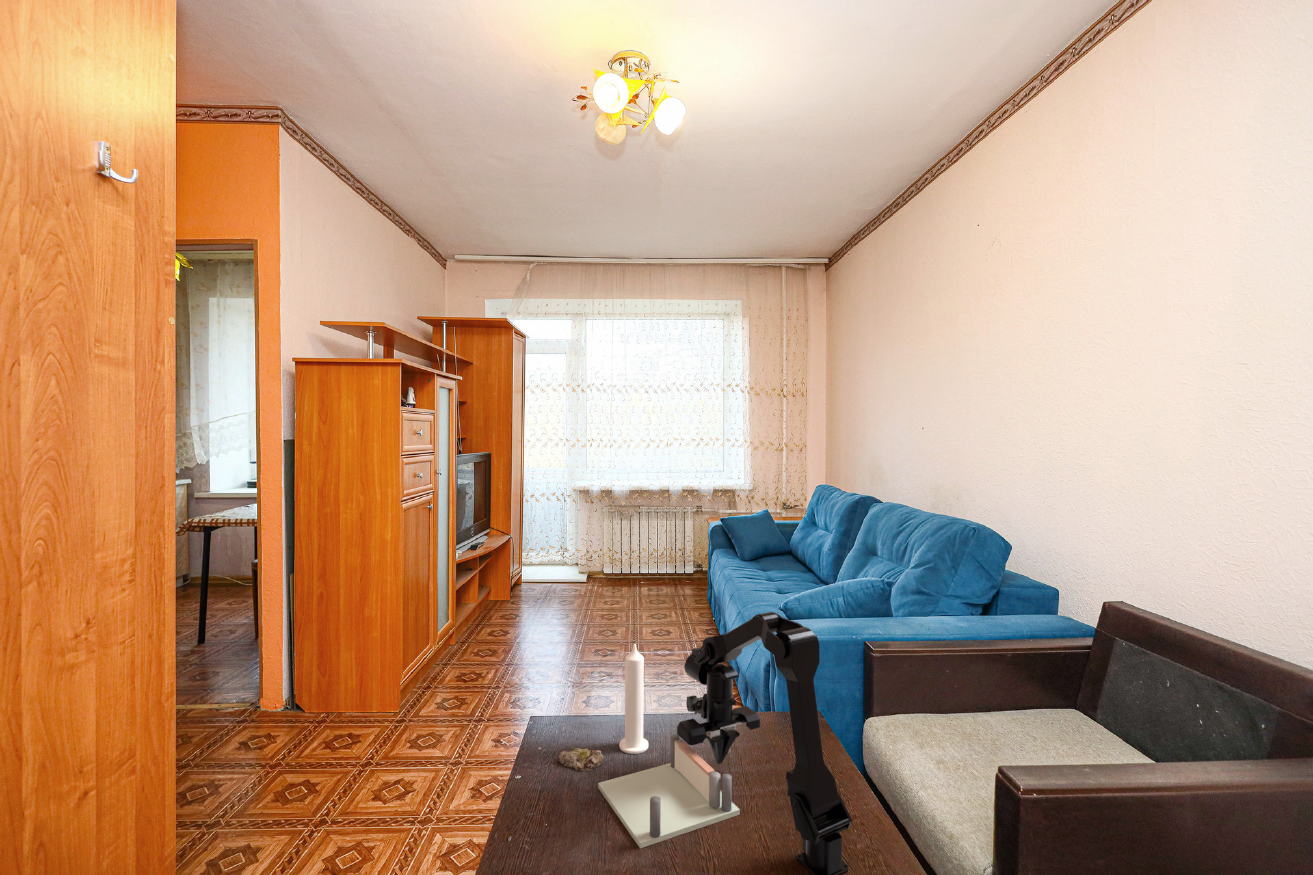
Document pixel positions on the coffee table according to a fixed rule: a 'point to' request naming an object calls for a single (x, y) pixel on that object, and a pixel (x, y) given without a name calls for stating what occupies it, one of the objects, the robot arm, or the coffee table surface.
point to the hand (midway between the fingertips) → (719, 762)
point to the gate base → (664, 803)
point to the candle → (634, 704)
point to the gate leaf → (698, 773)
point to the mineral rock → (581, 759)
